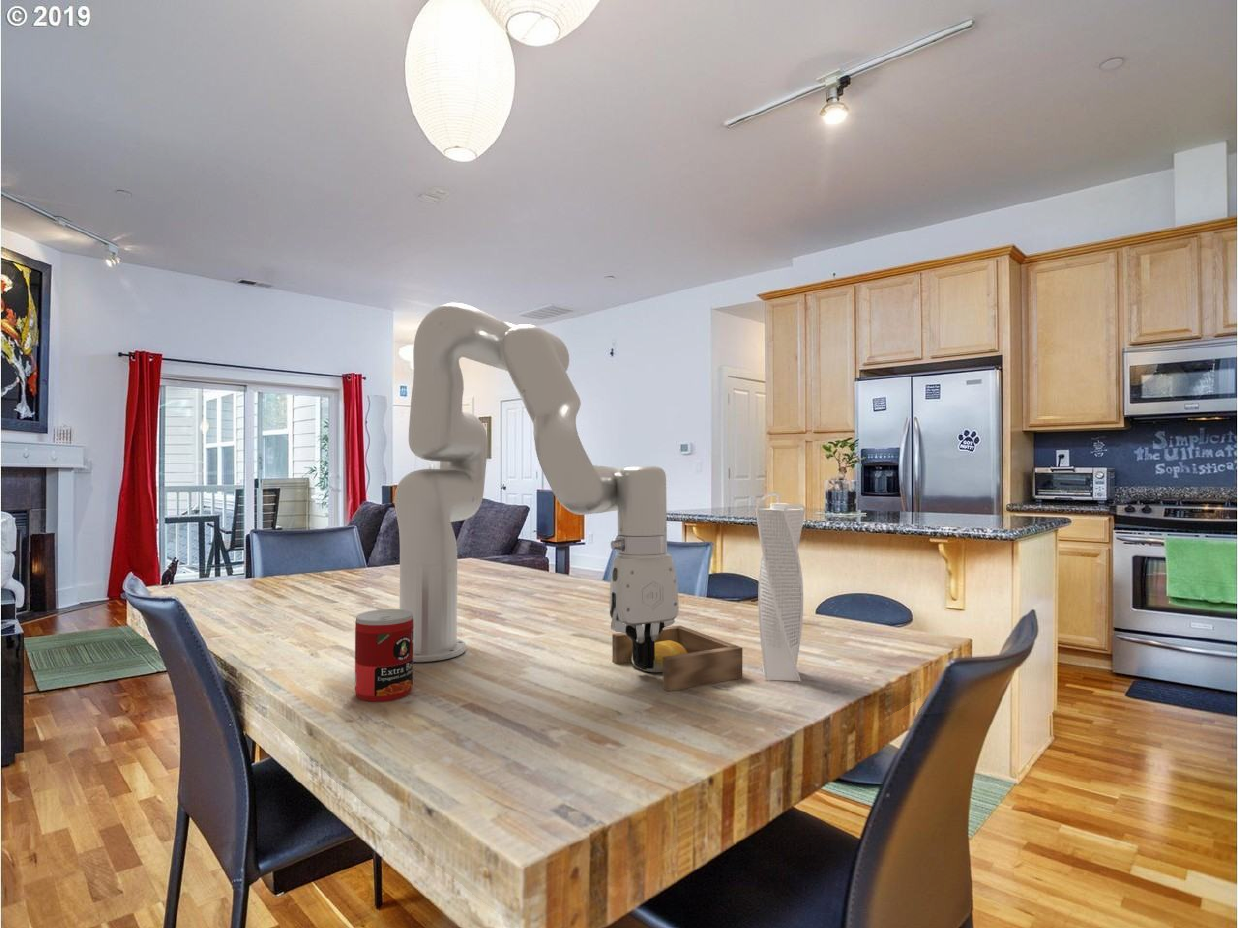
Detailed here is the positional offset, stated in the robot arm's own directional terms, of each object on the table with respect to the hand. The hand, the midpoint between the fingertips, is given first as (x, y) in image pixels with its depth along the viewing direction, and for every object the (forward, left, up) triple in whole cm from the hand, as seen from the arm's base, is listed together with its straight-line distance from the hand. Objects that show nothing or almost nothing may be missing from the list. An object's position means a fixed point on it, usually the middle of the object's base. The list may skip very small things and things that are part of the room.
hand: (643, 666), depth 99 cm
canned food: (-36, +11, -2) cm, 38 cm away
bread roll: (+5, +3, -2) cm, 6 cm away
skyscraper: (+19, -9, -2) cm, 21 cm away
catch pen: (+5, +1, -1) cm, 6 cm away
